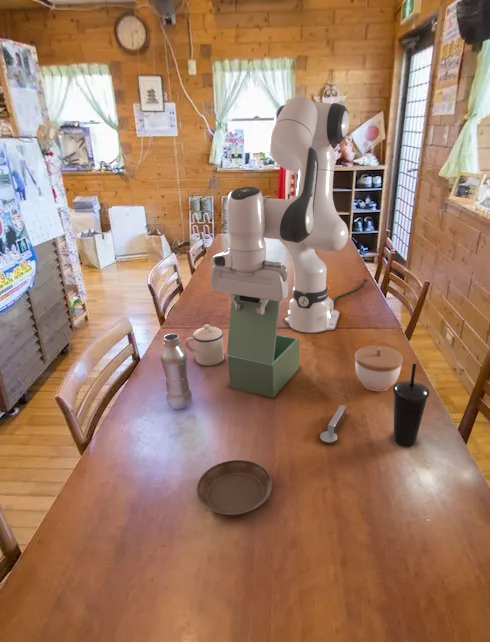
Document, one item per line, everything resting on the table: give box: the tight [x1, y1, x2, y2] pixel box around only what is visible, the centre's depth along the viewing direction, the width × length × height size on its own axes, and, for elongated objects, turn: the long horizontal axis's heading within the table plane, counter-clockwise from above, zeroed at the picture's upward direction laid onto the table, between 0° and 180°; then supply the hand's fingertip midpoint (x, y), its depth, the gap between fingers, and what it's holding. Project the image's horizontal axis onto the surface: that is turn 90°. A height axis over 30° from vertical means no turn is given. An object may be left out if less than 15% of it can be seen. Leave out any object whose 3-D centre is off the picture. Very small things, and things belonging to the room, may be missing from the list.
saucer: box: [196, 459, 273, 517], centre depth 90 cm, size 15×15×3 cm
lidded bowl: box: [354, 345, 404, 392], centre depth 124 cm, size 13×13×11 cm
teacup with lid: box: [184, 323, 225, 367], centre depth 139 cm, size 12×9×12 cm
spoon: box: [319, 404, 347, 446], centre depth 108 cm, size 12×4×3 cm, turn 154°
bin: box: [227, 334, 300, 399], centre depth 129 cm, size 18×14×10 cm
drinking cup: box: [392, 363, 430, 448], centre depth 100 cm, size 8×8×20 cm
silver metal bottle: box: [159, 333, 193, 410], centre depth 115 cm, size 6×7×20 cm
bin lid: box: [226, 295, 281, 365], centre depth 116 cm, size 19×14×5 cm
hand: (250, 311), depth 115 cm, fingers open, 5 cm apart
